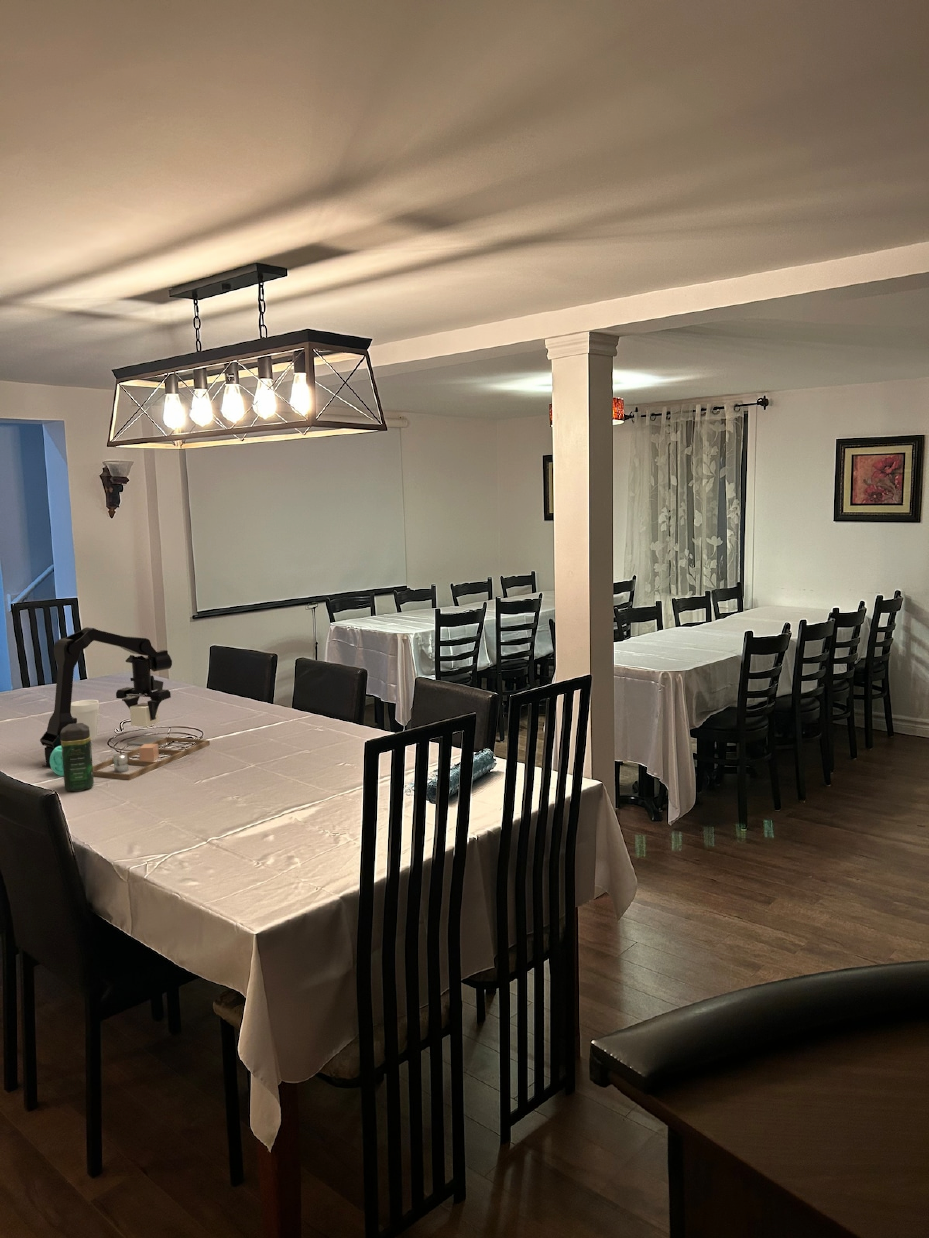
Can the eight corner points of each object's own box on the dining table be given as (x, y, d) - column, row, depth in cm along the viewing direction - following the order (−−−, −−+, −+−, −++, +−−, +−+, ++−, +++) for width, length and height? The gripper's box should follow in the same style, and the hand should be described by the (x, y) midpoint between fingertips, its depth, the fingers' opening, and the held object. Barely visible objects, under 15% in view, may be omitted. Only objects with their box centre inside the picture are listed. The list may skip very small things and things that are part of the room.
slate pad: (148, 746, 304) (148, 744, 304) (127, 744, 307) (127, 742, 307) (166, 739, 313) (166, 737, 312) (145, 737, 316) (145, 736, 316)
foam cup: (77, 744, 310) (74, 707, 308) (69, 738, 317) (66, 702, 315) (105, 738, 316) (102, 702, 314) (97, 733, 323) (94, 698, 321)
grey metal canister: (122, 773, 275) (121, 757, 274) (111, 772, 276) (110, 756, 275) (131, 769, 278) (130, 753, 278) (120, 768, 280) (119, 752, 279)
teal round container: (90, 769, 280) (88, 744, 279) (72, 776, 273) (70, 751, 271) (68, 767, 282) (66, 742, 281) (50, 775, 275) (48, 750, 274)
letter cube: (146, 726, 305) (145, 707, 304) (131, 725, 307) (129, 706, 306) (159, 722, 311) (158, 703, 310) (144, 720, 313) (142, 702, 312)
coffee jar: (94, 790, 259) (88, 727, 257) (64, 793, 257) (58, 730, 254) (95, 780, 268) (89, 719, 266) (66, 784, 266) (60, 722, 263)
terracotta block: (154, 761, 287) (153, 747, 286) (140, 761, 287) (138, 748, 286) (158, 757, 291) (157, 743, 291) (145, 757, 291) (144, 744, 291)
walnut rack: (129, 779, 268) (129, 775, 268) (82, 775, 274) (82, 770, 274) (209, 744, 304) (209, 740, 304) (166, 741, 310) (166, 736, 310)
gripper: (179, 670, 311) (182, 714, 313) (135, 668, 317) (138, 711, 319) (158, 676, 301) (161, 722, 303) (113, 674, 307) (116, 719, 309)
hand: (144, 718), depth 309 cm, fingers closed on letter cube, 7 cm apart
